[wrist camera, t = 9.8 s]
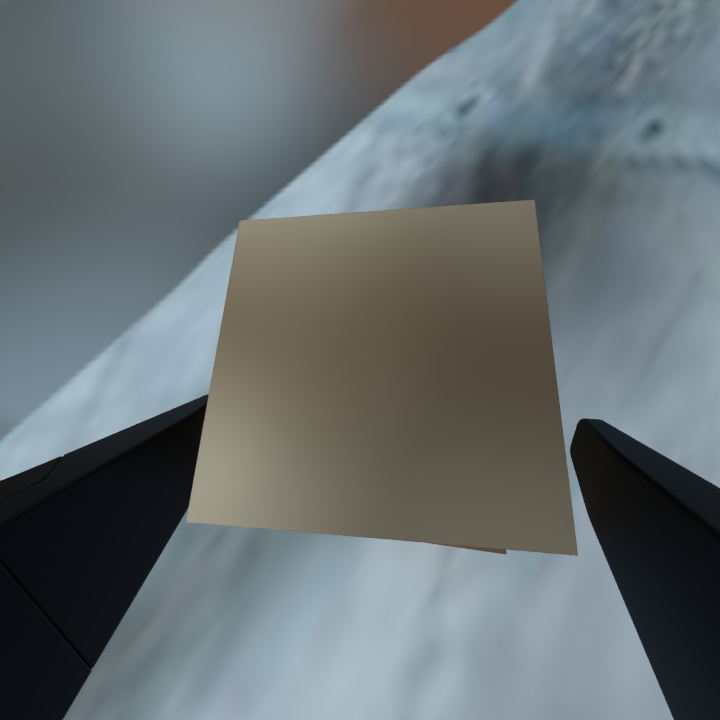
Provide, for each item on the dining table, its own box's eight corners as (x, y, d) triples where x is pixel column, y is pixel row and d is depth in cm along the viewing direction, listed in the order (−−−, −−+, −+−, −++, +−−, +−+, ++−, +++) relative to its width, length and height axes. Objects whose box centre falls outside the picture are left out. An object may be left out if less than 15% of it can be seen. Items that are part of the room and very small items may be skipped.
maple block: (455, 487, 16) (577, 555, 4) (352, 481, 17) (186, 521, 5) (452, 384, 18) (534, 199, 5) (357, 383, 18) (239, 221, 6)
